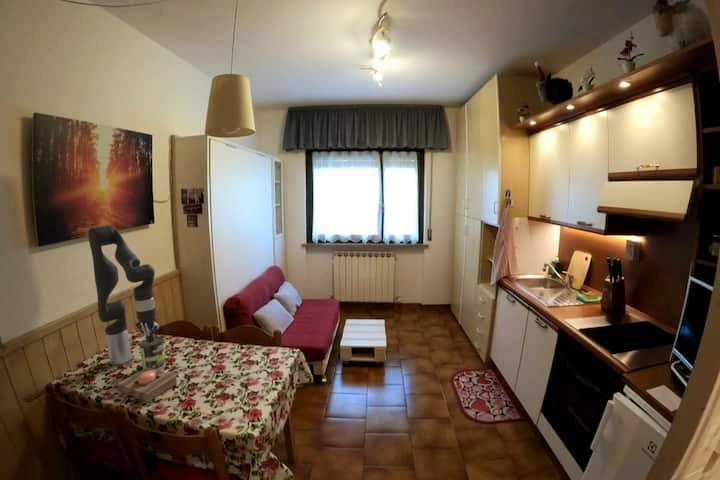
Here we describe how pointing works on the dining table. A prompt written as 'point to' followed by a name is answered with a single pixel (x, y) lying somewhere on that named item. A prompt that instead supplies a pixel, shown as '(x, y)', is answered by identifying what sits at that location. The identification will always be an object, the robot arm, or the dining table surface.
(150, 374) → the pink flattened oval
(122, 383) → the wooden board
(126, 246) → the robot arm
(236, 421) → the dining table surface
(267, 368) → the dining table surface
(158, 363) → the coffee can
